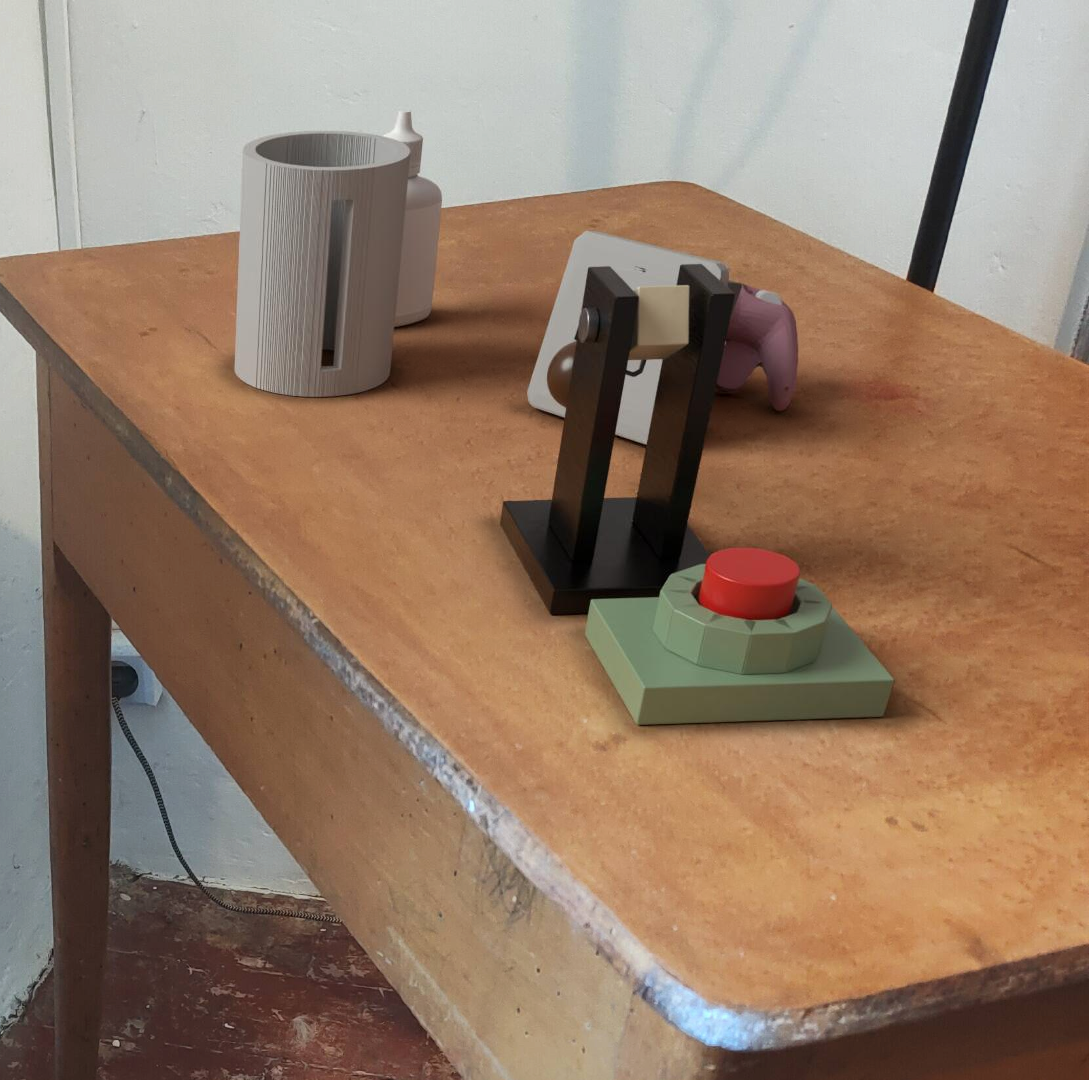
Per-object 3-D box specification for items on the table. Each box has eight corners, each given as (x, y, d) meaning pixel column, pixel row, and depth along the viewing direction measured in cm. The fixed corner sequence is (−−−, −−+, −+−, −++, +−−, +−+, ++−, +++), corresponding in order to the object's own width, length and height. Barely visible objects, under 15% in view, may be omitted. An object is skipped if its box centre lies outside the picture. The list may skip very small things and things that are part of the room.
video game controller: (780, 420, 100) (799, 290, 98) (797, 409, 95) (817, 273, 94) (602, 411, 101) (618, 283, 100) (611, 400, 97) (628, 266, 95)
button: (772, 585, 72) (782, 545, 71) (803, 624, 70) (814, 583, 69) (686, 587, 72) (695, 548, 71) (714, 627, 70) (723, 586, 68)
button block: (811, 627, 76) (831, 551, 74) (883, 717, 70) (908, 637, 68) (584, 634, 76) (597, 559, 74) (636, 725, 70) (652, 645, 68)
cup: (322, 335, 108) (337, 123, 101) (421, 375, 102) (444, 153, 95) (204, 364, 104) (210, 146, 97) (300, 407, 98) (314, 178, 91)
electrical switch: (520, 408, 98) (556, 231, 92) (578, 396, 101) (616, 223, 95) (659, 456, 92) (706, 269, 87) (716, 441, 95) (765, 260, 89)
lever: (538, 416, 86) (538, 349, 86) (602, 415, 86) (603, 347, 86) (625, 355, 73) (626, 276, 73) (700, 353, 74) (702, 274, 73)
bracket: (499, 524, 85) (537, 249, 77) (661, 519, 85) (716, 244, 78) (549, 615, 78) (598, 319, 70) (728, 609, 78) (796, 313, 70)
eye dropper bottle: (434, 330, 108) (456, 119, 101) (343, 330, 109) (358, 119, 101) (428, 309, 112) (449, 102, 104) (340, 308, 112) (355, 103, 105)
